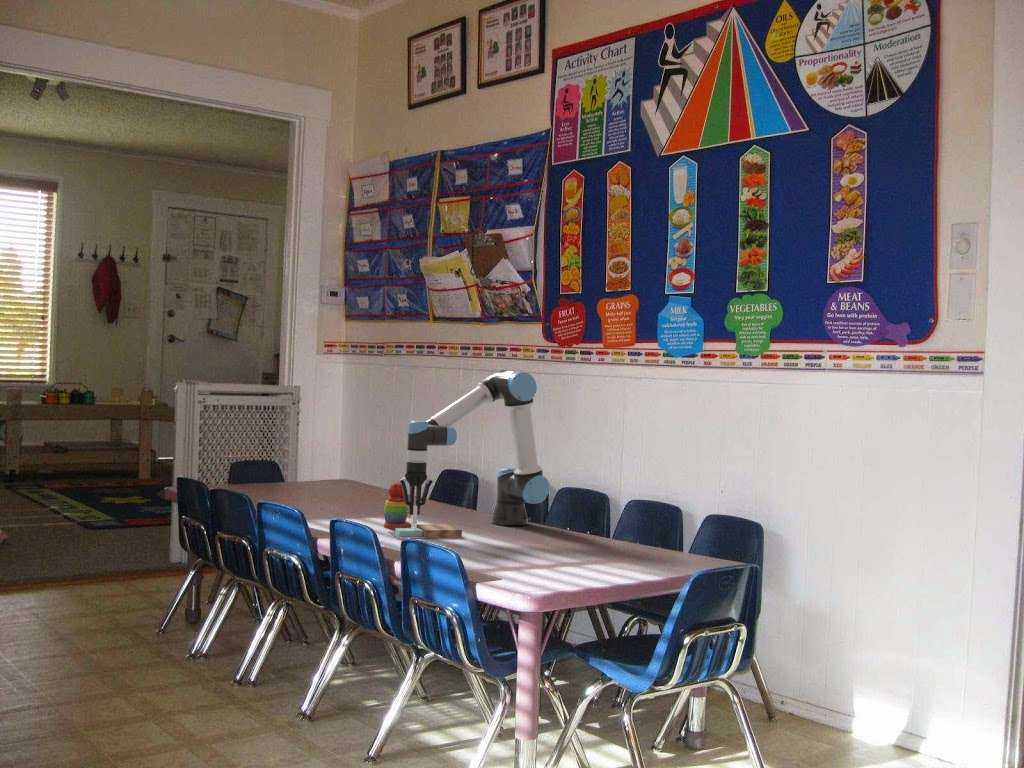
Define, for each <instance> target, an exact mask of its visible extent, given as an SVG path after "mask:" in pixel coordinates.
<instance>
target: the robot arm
mask: <svg viewBox="0 0 1024 768" xmlns="http://www.w3.org/2000/svg"><path fill="white" fill-rule="evenodd" d="M537 386H538V385H537V382H536V379H535V377H533V375H532V374H530V373H529V372H526V371H523V370H511V369H509V370H508V369H501V370H499V371H496V372H494V373H492V374H491V375H489V376H487V377H486V378H484V379H482V380H481V381H480V382H478V383H477V384H476V387H475V388H474V389H472V390H471V391H470V392H468V393H466V394H465V395H463V396H462V397H460V398H458V399H457V400H455V401H454V402H453V403H451V404H450V405H448V406H446V407H445V408H444V409H442V410H441V411H439V412H438V413H436V414H435V415H433V416H431V417H430V418H428V419H427V420H416V419H415V420H410V421H409V422H408V426H407V427H408V428H407V447H406V448H407V449H406V450H407V453H406V460H407V462H406V470H405V471H406V473H405V475H404V477H402V478H401V479H400V478H399V479H398V482H399V483H400V484H401V486H402V492H403V497H404V502H405V504H407V506H408V507H409V508H408V514H409V515H411V518H410V519H411V521H410V524H411V525H417V524H418V516H419V515H420V513H421V506H424V505H425V504H426V501H427V498H428V494H429V491H430V488H431V485H432V484H433V480H432V479H430V478H429V477H428V475H427V462H426V461H427V460H428V459H427V458H428V447H429V446H430V447H432V446H433V447H434V446H437V447H438V446H440V447H448V446H453V445H455V444H456V442H457V440H458V439H457V437H458V436H457V435H458V434H457V431H456V428H455V427H453V426H454V425H456V424H458V423H459V422H460V421H462V420H464V419H465V418H466V417H469V416H470V415H471V414H473V413H475V412H476V411H477V410H479V409H480V408H481V407H483V406H484V405H486V404H489V405H490V404H492V403H494V402H496V401H497V400H502V399H503V402H504V407H505V408H506V409H508V412H509V418H510V426H511V435H512V442H513V443H512V444H513V448H514V449H513V450H514V456H515V464H516V468H500V469H499V470H498V472H497V476H496V477H497V483H496V484H497V487H496V504H495V507H494V508H495V509H494V510H493V514H492V516H491V523H492V524H493V523H494V524H493V525H497V524H499V525H498V526H504V525H524V526H526V525H525V524H527V525H528V524H529V518H528V517H529V516H528V515H527V510H526V507H525V503H527V504H530V505H532V504H533V505H534V504H536V505H537V504H540V503H542V502H544V501H545V499H546V498H547V497H548V495H549V493H550V490H551V489H550V482H549V480H548V478H546V477H545V476H544V474H543V473H544V472H543V467H541V466H540V465H539V464H538V457H537V450H536V442H535V440H536V439H535V435H534V426H533V419H532V418H533V417H532V412H531V406H532V405H533V404H534V398H535V394H537V389H538V387H537ZM407 483H408V484H409V494H408V489H407V485H406V484H407ZM424 483H425V484H424ZM423 484H424V488H423V492H422V487H423V486H422V485H423ZM415 489H416V490H415ZM415 491H416V492H415ZM415 495H416V496H415Z"/></svg>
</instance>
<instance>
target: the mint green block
mask: <svg viewBox="0 0 1024 768" xmlns="http://www.w3.org/2000/svg"><path fill="white" fill-rule="evenodd" d="M394 531H395V534H397V535H398V536H422V533H423V531H422V530H421V529H419V528H416V527H408V528H395V529H394Z"/></svg>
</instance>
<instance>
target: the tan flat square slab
mask: <svg viewBox="0 0 1024 768" xmlns="http://www.w3.org/2000/svg"><path fill="white" fill-rule="evenodd" d="M415 528H419V529H421V530H422V531H423V533H422V535H423V536H424V537H426V538H427V539H458V538H457V537H462V538H463V529H461V528H459V527H458V526H456V525H454V524H453V523H452V524H451V523H435V524H434V523H433V524H432V523H431V524H429V523H428V524H425V523H424V524H422V523H421V524H418V523H417V524H416V527H415ZM455 537H456V538H455Z"/></svg>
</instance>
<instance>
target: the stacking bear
mask: <svg viewBox="0 0 1024 768" xmlns="http://www.w3.org/2000/svg"><path fill="white" fill-rule="evenodd" d="M388 495H389V497H387V499H386V500H385V503H384V508H383V516H384V520H385V521H384V524H383V528H384V529H388V528H389V530H395V528H412V523H411V522H409V521H407V517H408V514H409V508H408V507H409V506H408V505H407V504H405V502H404V497H403V492H402V486H401V484H400V482H399V481H397V482H393V483H391V484H390V485H389V487H388Z"/></svg>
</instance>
